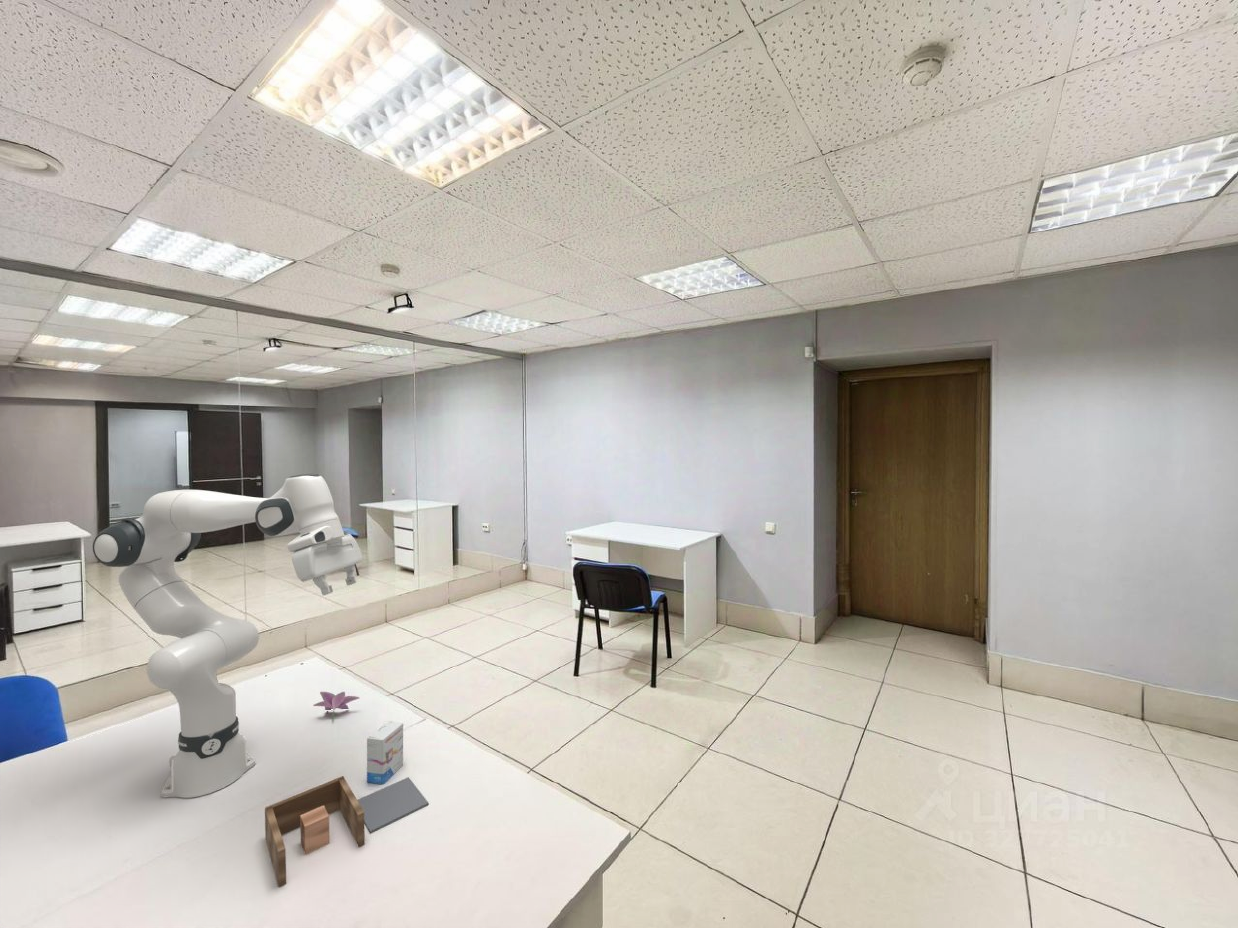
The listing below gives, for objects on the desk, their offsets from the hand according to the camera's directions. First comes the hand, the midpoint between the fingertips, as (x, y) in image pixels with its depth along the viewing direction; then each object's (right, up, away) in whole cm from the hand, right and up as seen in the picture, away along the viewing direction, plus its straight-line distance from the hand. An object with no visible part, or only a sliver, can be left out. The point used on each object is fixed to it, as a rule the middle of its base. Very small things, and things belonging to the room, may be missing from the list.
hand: (340, 588), depth 122 cm
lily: (-22, -51, +37) cm, 67 cm away
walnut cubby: (+3, -51, -15) cm, 53 cm away
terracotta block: (+3, -51, -15) cm, 53 cm away
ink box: (+7, -51, +8) cm, 52 cm away
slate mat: (+14, -51, -3) cm, 53 cm away
